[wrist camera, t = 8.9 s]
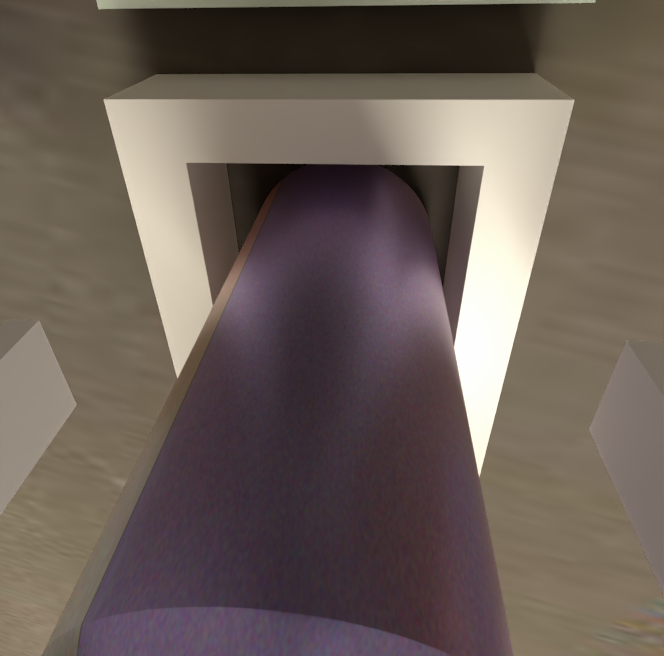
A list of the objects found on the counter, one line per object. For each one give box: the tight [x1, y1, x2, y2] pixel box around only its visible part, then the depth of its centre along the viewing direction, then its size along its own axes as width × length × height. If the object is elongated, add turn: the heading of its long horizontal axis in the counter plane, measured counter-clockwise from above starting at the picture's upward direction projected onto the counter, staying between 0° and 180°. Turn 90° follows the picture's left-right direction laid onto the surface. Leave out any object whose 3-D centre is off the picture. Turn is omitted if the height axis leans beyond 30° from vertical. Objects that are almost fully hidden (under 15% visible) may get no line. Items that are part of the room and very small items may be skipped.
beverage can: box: [42, 164, 514, 656], centre depth 11 cm, size 6×6×15 cm
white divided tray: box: [104, 73, 574, 476], centre depth 19 cm, size 20×11×4 cm, turn 1°
